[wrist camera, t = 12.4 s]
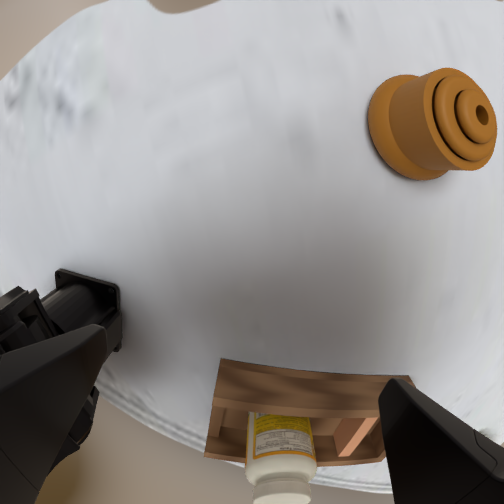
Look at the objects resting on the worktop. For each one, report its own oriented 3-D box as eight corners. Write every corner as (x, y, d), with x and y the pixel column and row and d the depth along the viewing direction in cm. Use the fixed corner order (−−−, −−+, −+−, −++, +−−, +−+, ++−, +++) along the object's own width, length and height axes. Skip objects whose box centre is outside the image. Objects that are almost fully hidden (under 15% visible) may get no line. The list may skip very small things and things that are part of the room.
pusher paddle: (333, 434, 23) (337, 456, 20) (358, 393, 21) (367, 416, 18) (343, 434, 23) (349, 456, 20) (369, 393, 21) (379, 416, 18)
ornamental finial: (432, 78, 15) (455, 170, 17) (349, 84, 16) (378, 188, 18) (498, 52, 7) (529, 180, 9) (401, 39, 8) (445, 203, 10)
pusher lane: (210, 422, 24) (203, 456, 20) (220, 358, 22) (213, 396, 17) (371, 432, 25) (381, 461, 20) (408, 375, 22) (426, 405, 18)
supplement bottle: (268, 383, 21) (271, 484, 12) (319, 402, 22) (338, 493, 13) (237, 417, 22) (228, 506, 13) (285, 433, 23) (290, 515, 14)
